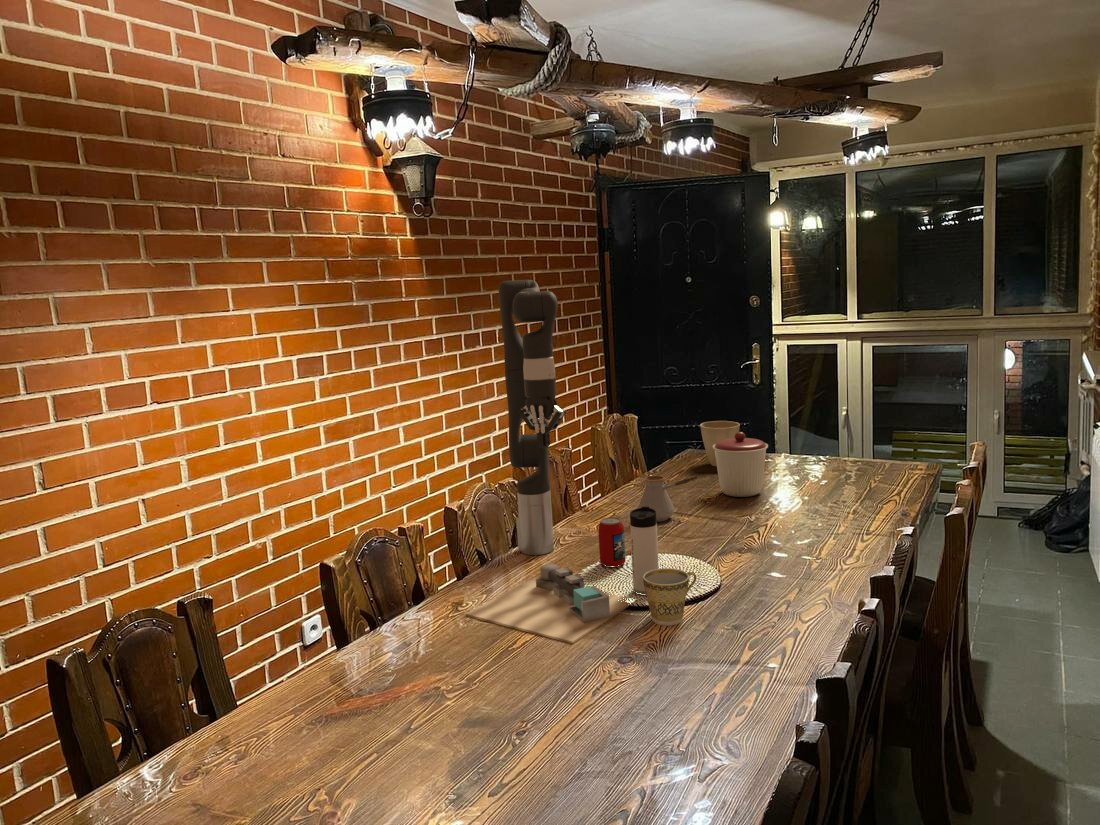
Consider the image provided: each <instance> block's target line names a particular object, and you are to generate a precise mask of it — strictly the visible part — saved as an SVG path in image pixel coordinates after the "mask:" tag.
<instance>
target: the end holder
mask: <svg viewBox="0 0 1100 825" xmlns="http://www.w3.org/2000/svg"><path fill="white" fill-rule="evenodd" d="M590 587H591V588H593V589H594V590H595V591H597V592H598V593H599V595H600V597H597V598H593V599H589V600H584V601H581V610H580V609H579V608H577V607H576V606H575V607H571V608H570V613H572V614H573V615H574V616H575V617H576V618H578V619H579V620H580V621H581V622H583V623H584V624H585V623H589V622H593V621H597V620H601V619H606V618H610V606H609V596H608V595H607V594H605V593H604V592H605V591H602V590H601V589H599V588H598V587H597V586H596V585H594V586H590ZM610 619H611V618H610Z"/></svg>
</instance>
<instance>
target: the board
mask: <svg viewBox="0 0 1100 825" xmlns="http://www.w3.org/2000/svg"><path fill="white" fill-rule="evenodd" d="M557 585H558V584H557V583H555V582H554V581H553V580H545V579H542V578H541V576H540V577H535V576H534V577H532V578H530V579H528V580H527V581H525V582H523V583H521V584H519V585H517V586H516V587H514V588H512V589H509V590H508V591H506V592H504V593H502V594H500V595H498V596H496V597H495V598H493V599H491V600H489V601H486V602H485V603H483V604H481V605H480V606H478V607H476V608H474V609H472V610H470V611H468V612H466V613H465V617H469V618H473V619H477V620H481V621H484V622H489V623H492V624H496V625H499V626H503V627H508V628H511V629H514V630H519V631H523V632H525V633H526V632H527V633H530V634H533V635H538V636H540V637H541V636H542V637H544V638H546V637H547V638H550V639H553V640H555V641H556V640H558V641H561V642H565V643H568V644H572V645H573V644H576V642H578V641H579V640H581V639H582V638H584V637H585V636H587V635H588V634H590V633H591V632H593V631H594V630H595V629H597V628H598V627H600V626H602V625H603V624H604V623H606V622H608V621H610V619H612V618H613V617H615V616H617V615H618V614H619V613H620V612H622V611H624V610H626V609H627V608H628V607H629V606H628V604H630V603H627V602H625V601H626V600H627V597H629V598H630V597H631V596H627V597H625V596H626V595H621V596H619V597H618V595H619V594H617V595H615V594H616V593H612V592H607V591H606V592H607V595H608V596H609V595H610V596H609V606H610V618H606V619H601V620H597V621H593V622H589V623H585V624H584V623H583V622H581V621H580V620H579V619H578V618H576V617H575V616H574V615H573V614H572V613H570V608H571V607H575V605H568V604H567V603H566V602H564V597H561V598H559V597H557V596H556V595H555V594H554V588H553V586H557ZM609 593H610V594H609ZM611 593H612V594H613V595H612V594H611ZM605 594H606V593H605ZM623 596H624V597H623ZM618 598H619V599H618ZM623 598H624V599H623ZM625 598H626V600H625ZM631 598H633V597H631ZM620 599H622V600H620ZM618 600H619V601H618ZM623 600H624V601H623ZM628 600H629V599H628ZM621 601H622V602H621Z"/></svg>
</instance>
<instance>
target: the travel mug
mask: <svg viewBox="0 0 1100 825" xmlns="http://www.w3.org/2000/svg"><path fill="white" fill-rule="evenodd" d="M629 519H630V521H629V522H630V523H629V524H630V525H629V526H630V528H629V529H630V545H631V546H630V548H631V550H630V551H631V567H632V568H631V571H632V589H633V590H634V591H635V592H637V593H642V594H646V592H645V588H644V583H643V575H644V574H645V573H646V572H648V571H651V570H655V569H660V568H659V565H660V564H659V544H658V543H659V542H658V523H657V521H656V511H655V510H654V509H651V508H649V507H644V506H642V508H638V507H637V508H635V509H632V510H631V511H630V512H629ZM634 591H633V592H634Z"/></svg>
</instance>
